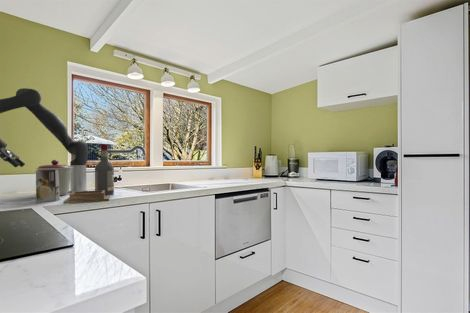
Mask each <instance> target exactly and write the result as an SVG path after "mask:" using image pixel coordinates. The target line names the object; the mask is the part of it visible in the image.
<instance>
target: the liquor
mask: <svg viewBox="0 0 470 313" xmlns="http://www.w3.org/2000/svg"><path fill="white" fill-rule="evenodd" d="M108 148H109V147H108V144H105V143H103V144H100V149H101V150H100V151H101V152H100V154H101V155H100V156H101V158H100V161H99V162H98V163H97V164H96V165H95V167H94V191H99V190H105V195H110V196H112V195H114V194H115V184H114V183H115V177H114V176H115V173H114V172H115V170H114V165H113V164H112V163H111V161H109V157H108V156H109V155H108V150H109V149H108Z"/></svg>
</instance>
